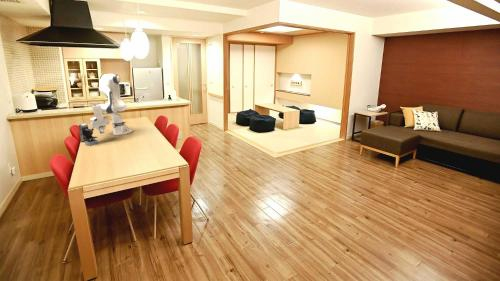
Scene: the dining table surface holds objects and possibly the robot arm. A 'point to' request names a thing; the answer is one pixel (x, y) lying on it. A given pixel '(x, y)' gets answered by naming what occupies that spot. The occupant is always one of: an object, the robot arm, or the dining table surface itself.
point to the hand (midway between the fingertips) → (101, 130)
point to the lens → (101, 129)
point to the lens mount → (91, 142)
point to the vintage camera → (85, 132)
